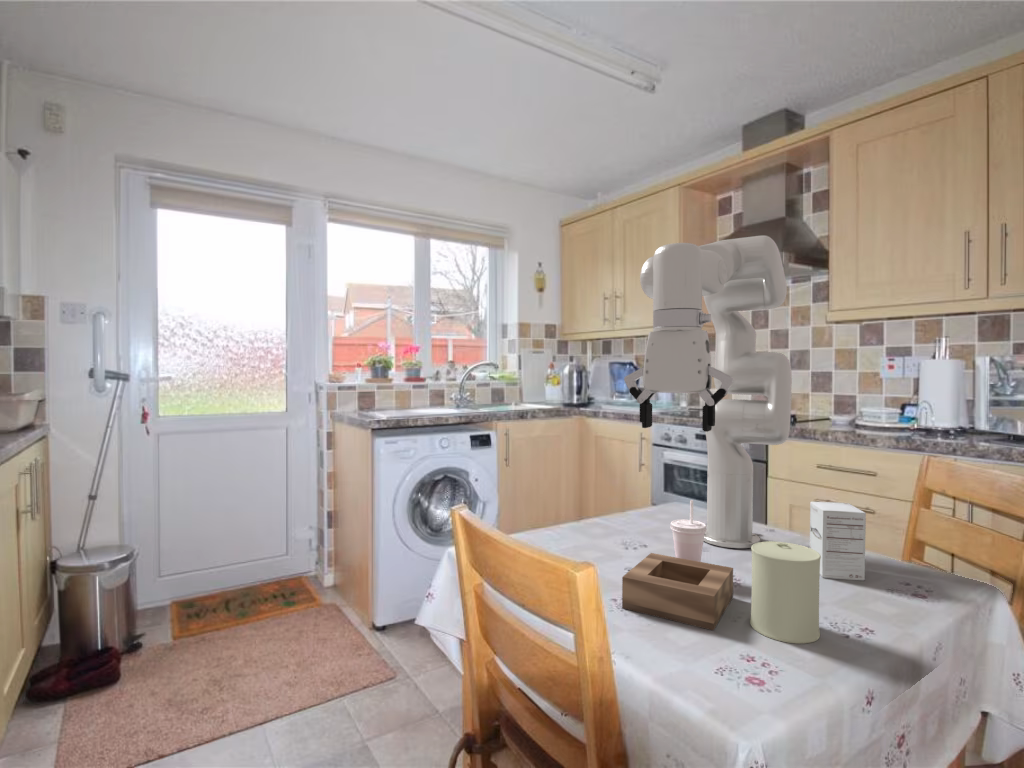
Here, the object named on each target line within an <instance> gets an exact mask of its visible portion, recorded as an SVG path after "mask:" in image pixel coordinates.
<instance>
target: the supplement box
mask: <svg viewBox="0 0 1024 768" xmlns="http://www.w3.org/2000/svg"><path fill="white" fill-rule="evenodd" d="M809 504H810V505H809V509H810V510H809V511H810V512H809V548H811V549H813V550H815V551H817V552H818V553H819V554H820V555H821V559H820V576H821V578H823V579H824V578H825V579H833V580H834V579H835V580H836V579H837V580H850V581H865V580H866V579H865V577H866V574H865V573H866V535H867V534H866V533H867V532H866V528H867V527H866V526H867V525H866V520H867V517H866V516H867V514H866V513H867V512H865V511H863V510H862V509H860V508H858V507H856V506H854V505H852V503H849V502H838V501H837V502H836V501H835V502H834V501H832V502H830V501H810V502H809Z"/></svg>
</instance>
